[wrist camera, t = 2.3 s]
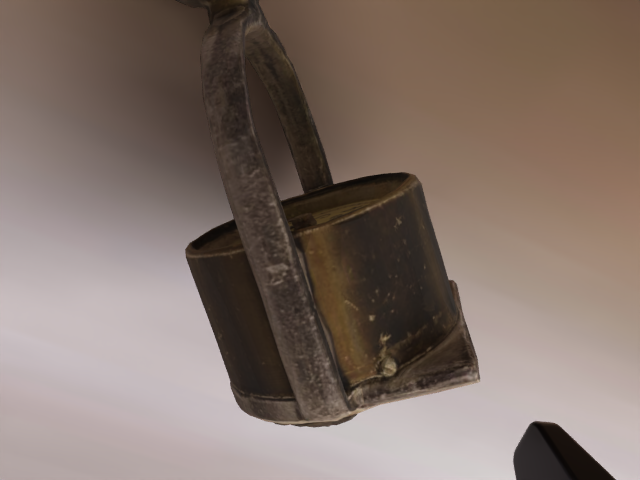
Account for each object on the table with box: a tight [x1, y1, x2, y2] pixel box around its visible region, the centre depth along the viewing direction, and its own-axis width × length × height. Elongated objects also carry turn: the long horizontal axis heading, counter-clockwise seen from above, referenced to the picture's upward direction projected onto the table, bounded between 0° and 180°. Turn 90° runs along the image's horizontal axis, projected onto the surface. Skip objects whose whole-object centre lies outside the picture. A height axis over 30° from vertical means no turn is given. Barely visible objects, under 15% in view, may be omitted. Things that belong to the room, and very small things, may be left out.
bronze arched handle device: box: [176, 0, 480, 427], centre depth 15 cm, size 7×13×10 cm, turn 34°
